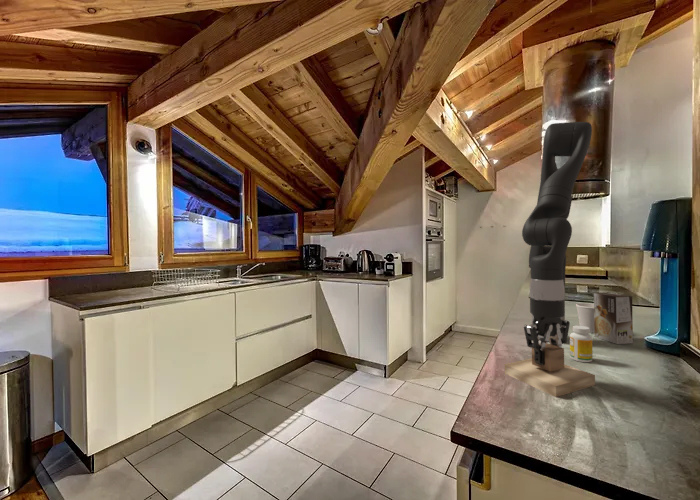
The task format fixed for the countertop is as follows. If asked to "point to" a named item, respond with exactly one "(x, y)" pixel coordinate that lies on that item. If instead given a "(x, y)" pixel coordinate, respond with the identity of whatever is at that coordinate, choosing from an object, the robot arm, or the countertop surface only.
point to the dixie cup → (586, 315)
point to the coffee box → (613, 317)
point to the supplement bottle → (581, 344)
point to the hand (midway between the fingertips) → (547, 362)
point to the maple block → (550, 377)
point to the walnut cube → (551, 358)
